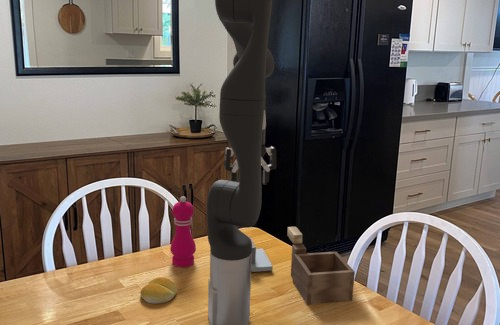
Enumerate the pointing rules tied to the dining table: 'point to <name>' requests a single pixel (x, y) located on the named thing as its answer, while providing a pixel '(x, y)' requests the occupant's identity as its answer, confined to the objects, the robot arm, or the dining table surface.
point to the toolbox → (321, 276)
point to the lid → (259, 260)
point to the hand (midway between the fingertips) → (249, 184)
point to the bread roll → (159, 290)
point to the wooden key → (294, 235)
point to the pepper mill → (183, 234)
